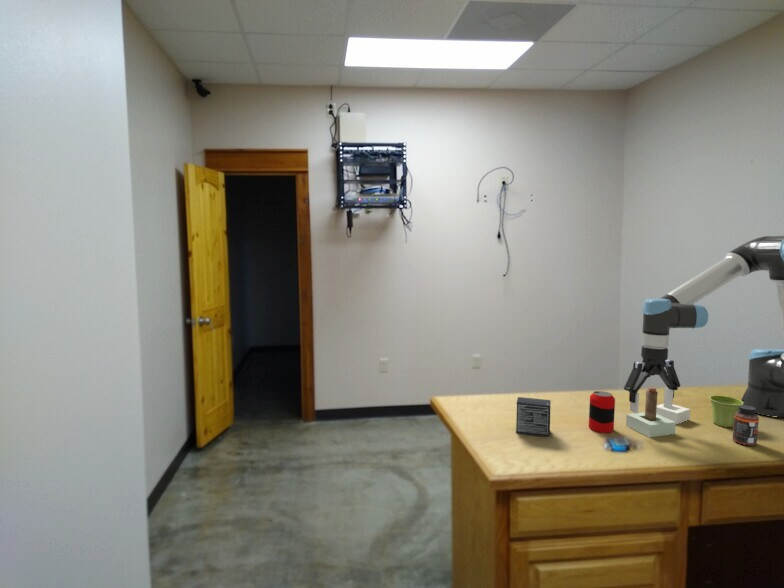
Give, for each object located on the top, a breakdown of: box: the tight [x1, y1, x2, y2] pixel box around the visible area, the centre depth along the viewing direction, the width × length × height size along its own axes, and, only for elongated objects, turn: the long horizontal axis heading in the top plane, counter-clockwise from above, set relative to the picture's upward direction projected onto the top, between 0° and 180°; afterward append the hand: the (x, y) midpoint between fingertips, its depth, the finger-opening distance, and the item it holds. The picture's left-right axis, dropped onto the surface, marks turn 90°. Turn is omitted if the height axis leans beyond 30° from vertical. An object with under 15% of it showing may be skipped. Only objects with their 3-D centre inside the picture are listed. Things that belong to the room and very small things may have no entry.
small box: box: [515, 396, 552, 438], centre depth 151 cm, size 11×6×10 cm, turn 71°
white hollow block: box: [656, 402, 691, 425], centre depth 163 cm, size 8×8×4 cm
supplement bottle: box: [732, 405, 760, 447], centre depth 143 cm, size 6×6×11 cm
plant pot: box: [709, 394, 743, 428], centre depth 157 cm, size 9×9×9 cm
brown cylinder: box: [644, 386, 659, 421], centre depth 152 cm, size 3×3×14 cm
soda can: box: [588, 390, 616, 434], centre depth 153 cm, size 8×8×12 cm
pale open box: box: [625, 411, 677, 438], centre depth 153 cm, size 10×10×4 cm
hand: (651, 410), depth 153 cm, fingers open, 13 cm apart
